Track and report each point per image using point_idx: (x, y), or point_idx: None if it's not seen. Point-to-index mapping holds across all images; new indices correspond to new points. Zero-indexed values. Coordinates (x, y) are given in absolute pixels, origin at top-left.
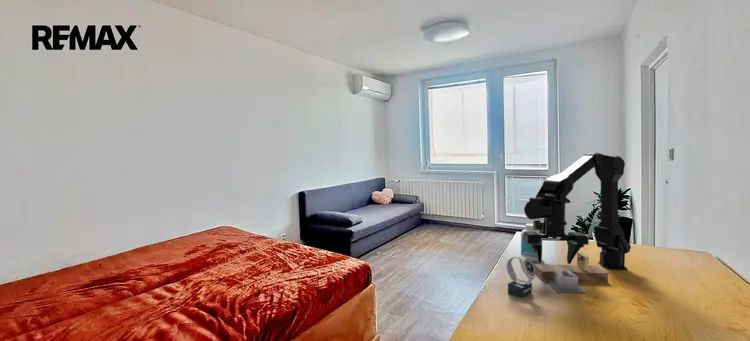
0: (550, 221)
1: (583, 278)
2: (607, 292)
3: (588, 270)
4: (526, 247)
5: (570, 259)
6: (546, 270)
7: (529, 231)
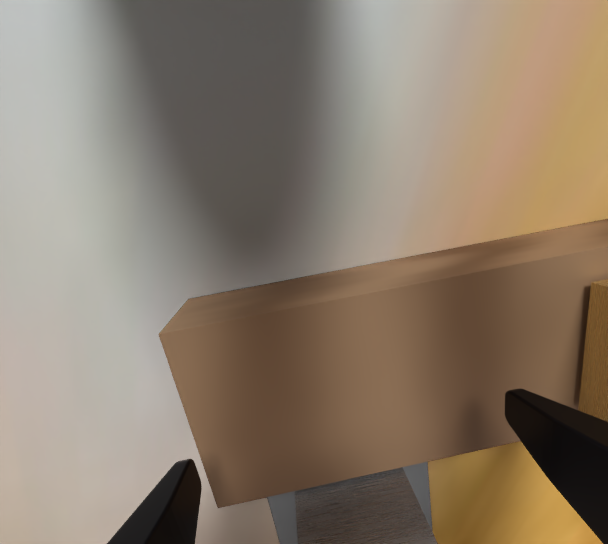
0: None
1: None
2: (545, 489)
3: None
4: None
5: (568, 498)
6: (260, 476)
7: None
